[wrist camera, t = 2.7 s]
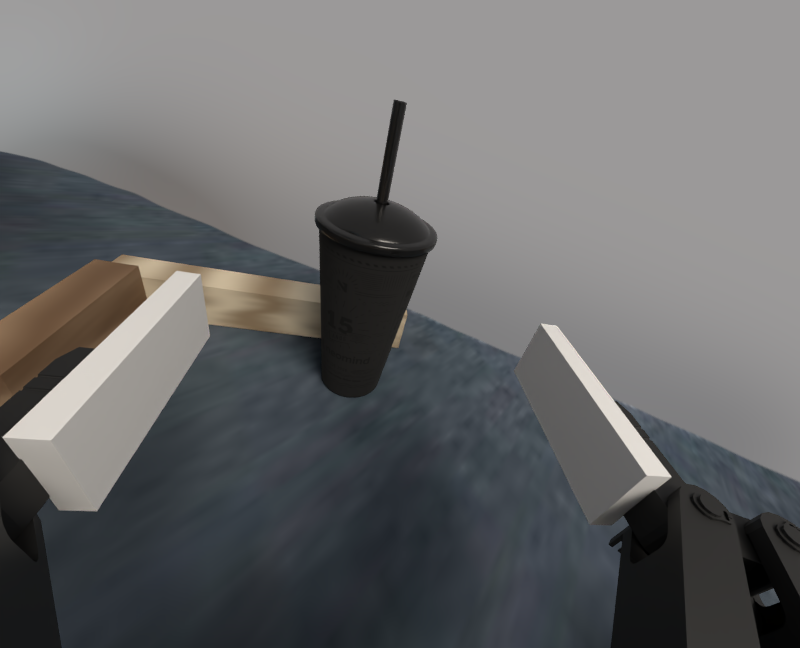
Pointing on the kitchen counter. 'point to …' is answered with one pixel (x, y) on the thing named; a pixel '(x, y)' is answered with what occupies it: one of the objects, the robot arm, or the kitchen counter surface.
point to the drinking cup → (367, 276)
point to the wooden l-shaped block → (124, 292)
